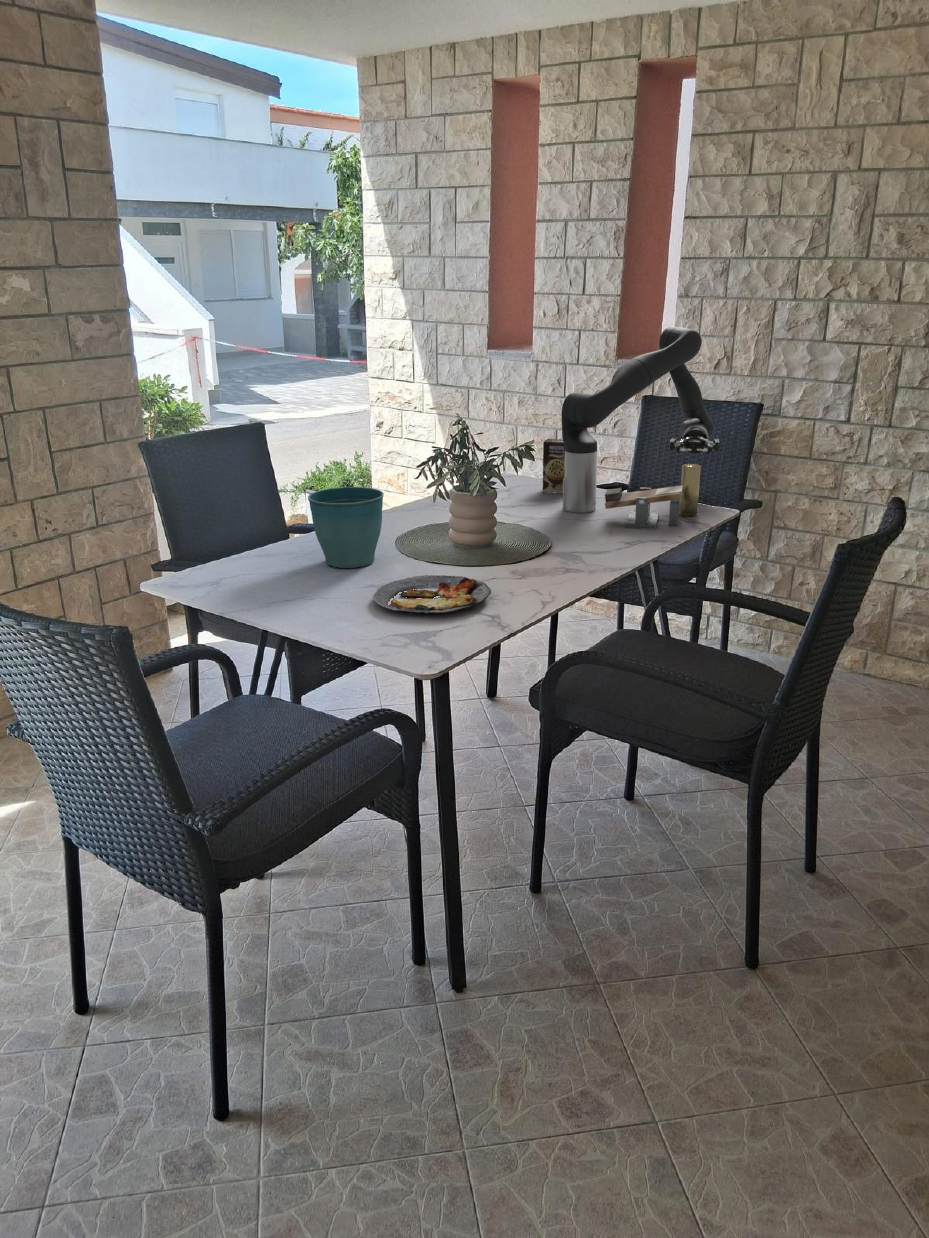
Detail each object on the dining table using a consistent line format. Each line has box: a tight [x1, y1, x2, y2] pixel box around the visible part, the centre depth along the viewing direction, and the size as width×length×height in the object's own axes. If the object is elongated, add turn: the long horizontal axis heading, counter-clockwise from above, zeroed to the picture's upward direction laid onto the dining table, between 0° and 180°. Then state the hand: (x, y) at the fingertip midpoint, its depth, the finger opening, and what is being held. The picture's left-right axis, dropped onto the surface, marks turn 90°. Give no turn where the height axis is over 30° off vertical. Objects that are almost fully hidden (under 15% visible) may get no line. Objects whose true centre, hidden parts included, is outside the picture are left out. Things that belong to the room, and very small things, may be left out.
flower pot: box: [307, 486, 384, 569], centre depth 227 cm, size 18×18×17 cm
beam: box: [604, 484, 683, 510], centre depth 256 cm, size 20×10×4 cm, turn 75°
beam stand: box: [625, 487, 680, 530], centre depth 257 cm, size 14×14×8 cm
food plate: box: [372, 574, 492, 614], centre depth 202 cm, size 25×23×4 cm
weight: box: [679, 463, 702, 518], centre depth 262 cm, size 5×5×14 cm
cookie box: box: [542, 438, 565, 494], centre depth 293 cm, size 9×6×16 cm
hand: (693, 449), depth 270 cm, fingers open, 8 cm apart
